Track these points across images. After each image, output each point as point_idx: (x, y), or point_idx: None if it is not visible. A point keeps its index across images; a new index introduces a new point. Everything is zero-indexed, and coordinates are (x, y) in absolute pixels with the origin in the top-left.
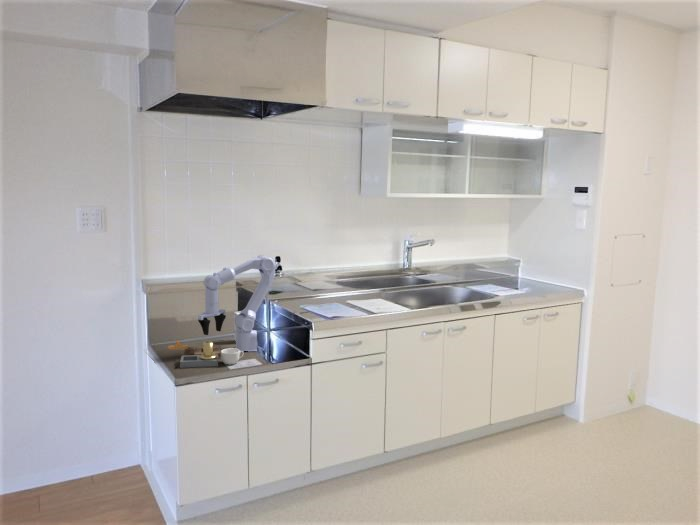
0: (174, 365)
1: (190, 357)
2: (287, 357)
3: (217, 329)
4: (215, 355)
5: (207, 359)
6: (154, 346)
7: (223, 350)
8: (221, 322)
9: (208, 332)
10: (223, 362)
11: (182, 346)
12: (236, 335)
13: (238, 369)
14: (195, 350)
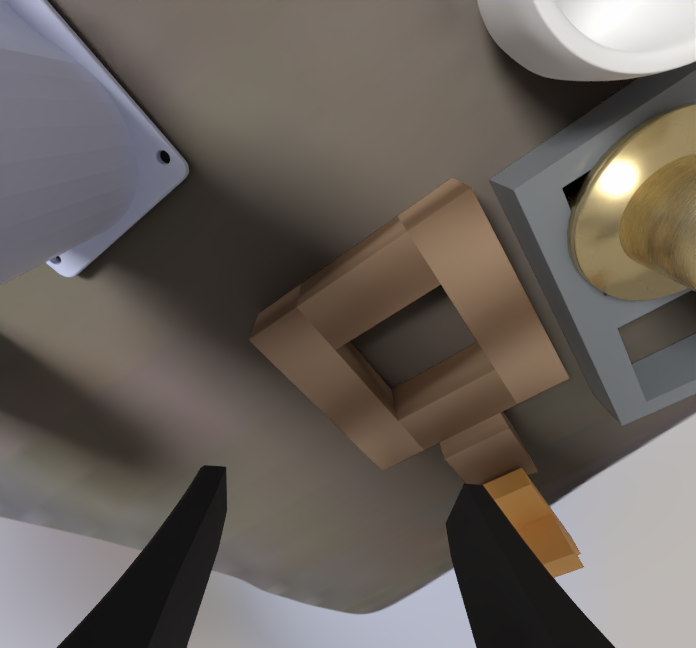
0: None
1: (626, 362)
2: None
3: (221, 518)
4: (665, 135)
5: None
6: (380, 607)
7: (640, 52)
8: (144, 634)
9: (481, 511)
10: (632, 13)
11: (541, 507)
12: (13, 260)
13: None
14: (465, 424)
